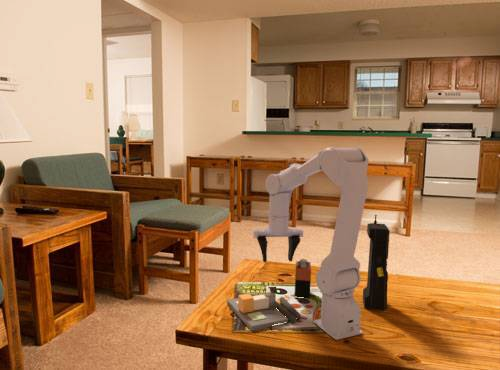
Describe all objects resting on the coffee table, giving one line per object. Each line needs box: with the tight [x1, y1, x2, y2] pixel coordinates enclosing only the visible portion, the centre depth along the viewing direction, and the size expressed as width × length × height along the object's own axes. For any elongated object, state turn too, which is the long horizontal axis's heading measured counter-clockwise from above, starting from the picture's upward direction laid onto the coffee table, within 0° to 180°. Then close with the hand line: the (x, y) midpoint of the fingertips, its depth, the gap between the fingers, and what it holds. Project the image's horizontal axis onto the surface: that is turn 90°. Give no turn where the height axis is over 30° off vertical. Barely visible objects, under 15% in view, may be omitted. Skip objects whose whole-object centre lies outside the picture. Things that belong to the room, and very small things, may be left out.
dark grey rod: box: [275, 300, 297, 323], centre depth 105 cm, size 16×2×2 cm, turn 25°
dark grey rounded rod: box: [279, 297, 302, 320], centre depth 105 cm, size 12×2×2 cm, turn 19°
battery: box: [294, 258, 312, 299], centre depth 116 cm, size 4×7×10 cm, turn 173°
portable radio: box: [362, 214, 391, 311], centre depth 108 cm, size 8×6×25 cm
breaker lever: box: [237, 291, 277, 313], centre depth 103 cm, size 3×10×4 cm, turn 115°
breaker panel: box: [226, 294, 289, 332], centre depth 104 cm, size 16×11×2 cm
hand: (277, 260), depth 116 cm, fingers open, 7 cm apart
